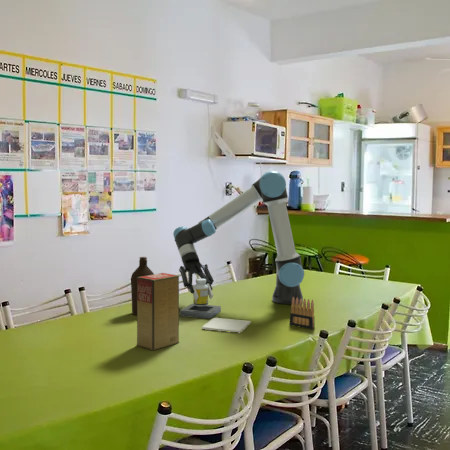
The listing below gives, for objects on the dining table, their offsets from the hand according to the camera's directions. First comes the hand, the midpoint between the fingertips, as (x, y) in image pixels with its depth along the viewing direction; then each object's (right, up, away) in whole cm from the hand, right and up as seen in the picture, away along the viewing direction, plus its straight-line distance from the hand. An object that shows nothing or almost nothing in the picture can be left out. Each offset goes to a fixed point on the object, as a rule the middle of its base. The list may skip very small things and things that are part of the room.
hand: (204, 297), depth 246 cm
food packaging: (-15, -11, -42) cm, 46 cm away
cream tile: (+10, -9, -17) cm, 21 cm away
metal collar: (-2, -8, +4) cm, 9 cm away
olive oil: (-27, -7, +2) cm, 28 cm away
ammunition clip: (+41, -10, -15) cm, 44 cm away
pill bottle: (-2, -4, +4) cm, 6 cm away
